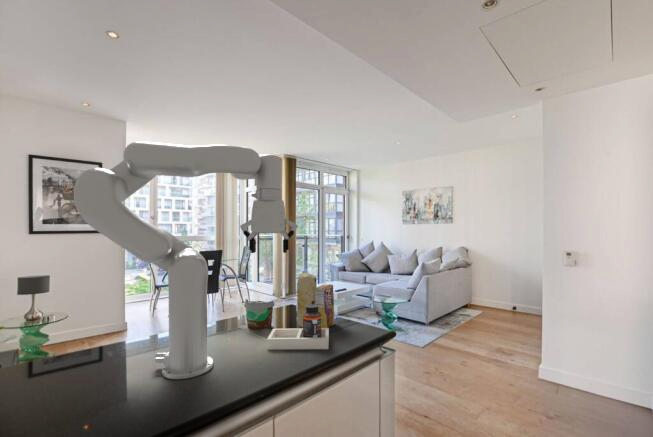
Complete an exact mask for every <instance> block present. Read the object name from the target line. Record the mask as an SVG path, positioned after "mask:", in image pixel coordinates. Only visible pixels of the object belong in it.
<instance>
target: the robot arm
mask: <svg viewBox="0 0 653 437" xmlns="http://www.w3.org/2000/svg"><path fill="white" fill-rule="evenodd" d="M122 156H123V160H122V161H120V162H119V163H118V164H116V165H115V166H114V167H112V168H110V169H107V168H102V167H92V168H89V169H86V170H84V171H83V172H82V173H80V175H78V177H77V178H76V181H75V182H74V187H73V199H74V200H73V201H74V205H75V207H76V210H77V212H78V213H79V215H80V216H81V218H82V219H83V220H84V221H85V222H86V224H88V225H89V226H90V227H91V228H92V229H93V230H95V231H97V232H98V233H99V234H101V235H103V236H104V237H105V238H107V239H108V240H110V241H112V242H113V243H114V244H116V245H117V246H119V247H121V248H122V249H124V250H125V251H126V252H128V253H130V254H132V255H133V256H134V257H136V258H137V259H138V260H140V261H142V262H144V263H146V264H147V263H148V264H153V265H154V266H156V267H158V268H159V269H160V270H162V271H164V272H165V273H167V276H168V277H167V280H168V289H167V290H168V352H161V351H160V352H156V353H155V356H154V363H155V364H162V363H163V364H164V366H163V367H162V369H161V375H162V376H163V377H164V378H165V379H166V378H167V379H169V380H184V379H185V380H186V379H191V378H195V377H198V376H200V375H203V374H205V373H207V372H209V371H210V370H211V369H212V368H213V367H214V359H213V358H212V357H211V356H209V355H208V279H209V268H208V263H207V261H206V258H205V257H204V256H203V255H202V254H201V253H200V252H199V251H197V250H195V249H194V248H193V247H191V246H189V245H188V244H186V243H185V242H184V241H182V240H180V239H179V238H178V237H176V236H175V235H173V233H170V232H169V231H167V230H165V229H164V228H161V227H158V226H156V225H154V224H153V223H150V222H148V220H146V219H144V218H142V217H141V216H140V215H138V214H137V213H135V212H134V211H133V210H132V209H130V208H128V207H127V206H126V205H125V204H123V202H125V201H126V200H127V199H128V198H130V197H131V196H132V195H134V194H135V193H136V192H137V191H139V190H140V189H141V188H143V187H145V186H146V185H148V183H149V182H151V180H153V179H154V178H155V177H157V176H164V177H165V176H167V177H183V178H195V177H200V176H203V175H208V174H221V173H223V174H230V175H231V176H232V177H234V178H235V179H237V180H240V181H241V180H244V181H245V180H256V185H255V187H256V190H255V192H251V198H255V199H256V200H255V199H254V200H253V202H252V208H251V219H249V220H248V221H246V222H244V223H242V224H241V225H240V229H241V231H242V233H243V235H244V236H245V237H246V238H247V240H248V241H249V242H248V243H249V244H248V245H249V248H248V250H249V251H250V253H251V254H254V253H256V251H257V245H256V244H257V240H256V239H255V238H256V236H257V235H258V234H281V235H282V237H283V240H282V252H283V254H285V253H287V252H288V251H289V249H290V239H291V237H292V236H294V234H295V233H296V230H297V228H298V224H296V223H295V222H293V221H291V220H289V219H287V215H286V205H285V201H284V200H282V159H281V157H279V156H278V155H275V154H259V153H258V152H257V151H256V150H254V149H253V148H250V147H246V146H238V145H229V144H208V145H204V144H203V145H183V144H173V143H163V142H150V141H143V140H142V141H140V140H139V141H134V142H133V141H132V142H131V143H130V144H127V145H126V147H125V148H124V151H123V155H122ZM249 226H250V231H251V232H250V231H248V229H247V228H248V227H249ZM287 226H289V227H291V229H290V231H288V232H287Z"/></svg>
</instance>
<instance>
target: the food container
mask: <svg viewBox="0 0 653 437" xmlns="http://www.w3.org/2000/svg"><path fill="white" fill-rule="evenodd" d="M243 303H244V304H243V307H244V308H245V313H246V322H247V328H248V329H249V330H252V331H253V330H254V331H255V330H256V331H259V330H266V329H270V328H271V327H272V324H273V310H274V307H275V305H276V304H275V301H274V300H270V301H262V300H256V301H252V300H249V299H248V298H246V299H245V300H244V302H243Z"/></svg>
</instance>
